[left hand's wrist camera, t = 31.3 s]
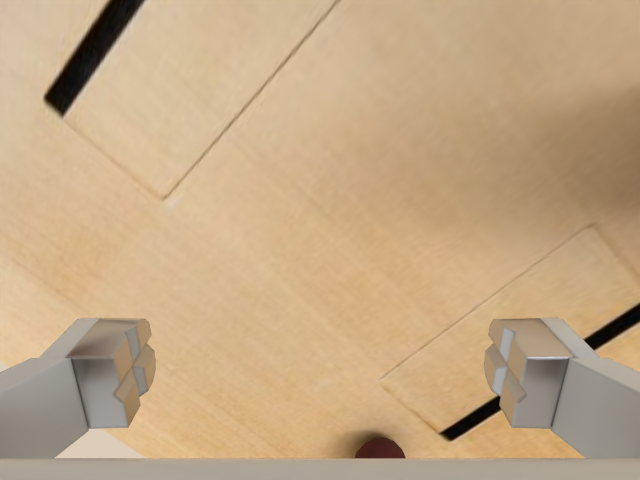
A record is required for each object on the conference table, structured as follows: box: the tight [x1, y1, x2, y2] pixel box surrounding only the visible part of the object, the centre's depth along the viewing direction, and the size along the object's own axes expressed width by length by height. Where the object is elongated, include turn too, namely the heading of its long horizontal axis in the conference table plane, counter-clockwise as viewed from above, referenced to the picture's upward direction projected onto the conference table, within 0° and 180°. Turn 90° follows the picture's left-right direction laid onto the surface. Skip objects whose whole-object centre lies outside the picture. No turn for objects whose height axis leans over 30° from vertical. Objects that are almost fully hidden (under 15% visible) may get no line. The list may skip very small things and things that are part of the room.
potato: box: [355, 438, 406, 459], centre depth 58 cm, size 7×8×7 cm
